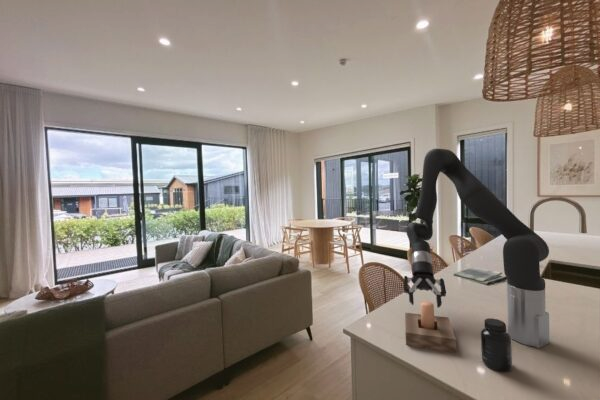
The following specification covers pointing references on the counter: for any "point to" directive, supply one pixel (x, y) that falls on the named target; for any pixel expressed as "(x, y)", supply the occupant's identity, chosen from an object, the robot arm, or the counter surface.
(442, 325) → the socket block
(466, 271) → the dish towel
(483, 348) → the supplement bottle
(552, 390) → the counter surface
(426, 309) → the pin
